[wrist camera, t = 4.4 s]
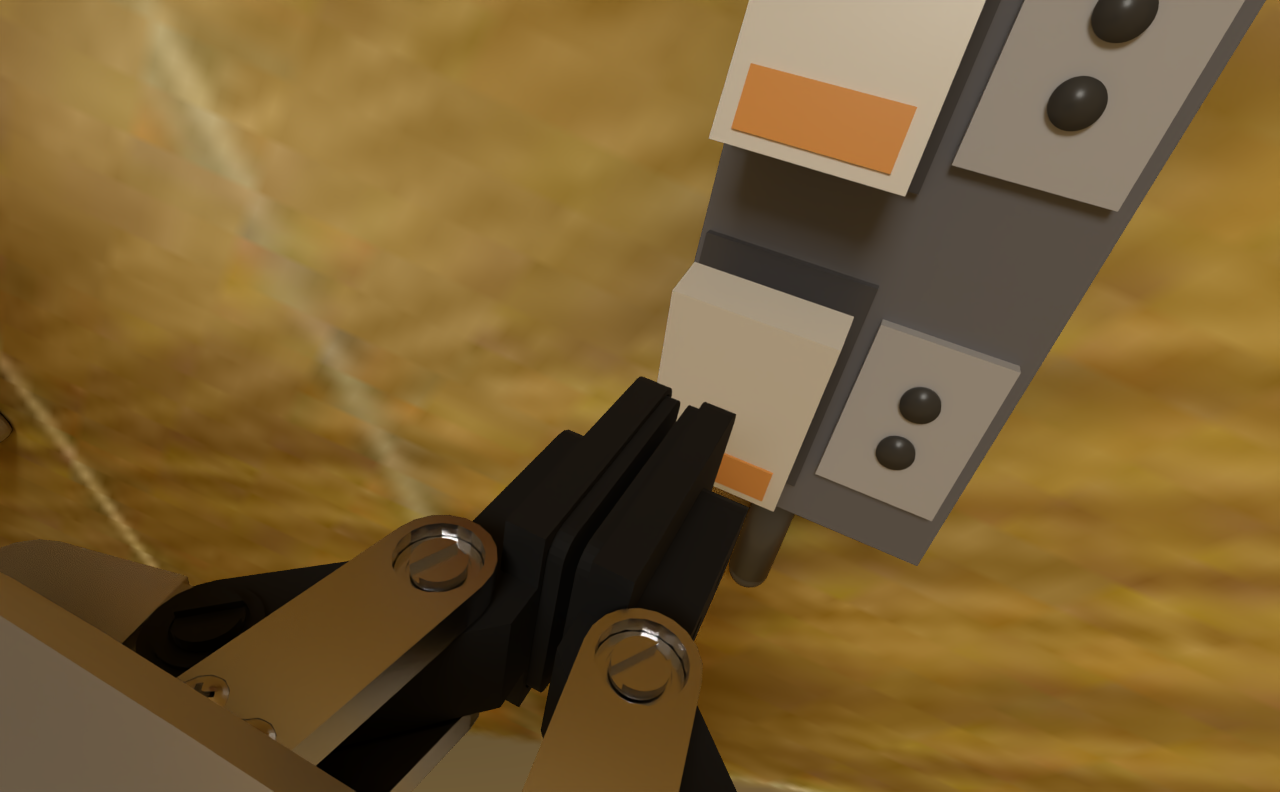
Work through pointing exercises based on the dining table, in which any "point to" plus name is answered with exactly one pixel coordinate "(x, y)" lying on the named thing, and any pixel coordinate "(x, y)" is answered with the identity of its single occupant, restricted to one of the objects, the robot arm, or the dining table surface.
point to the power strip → (963, 250)
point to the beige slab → (4, 428)
